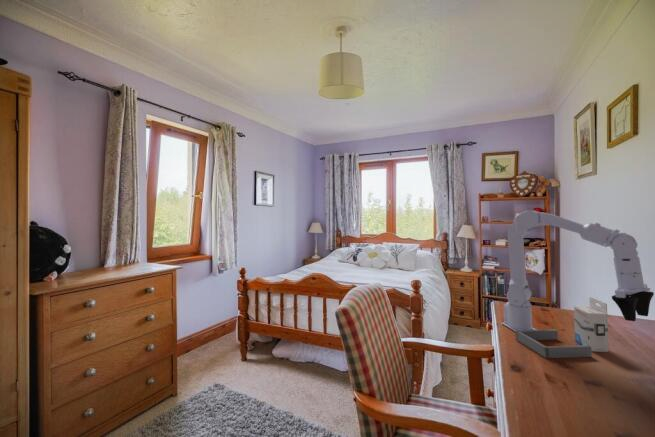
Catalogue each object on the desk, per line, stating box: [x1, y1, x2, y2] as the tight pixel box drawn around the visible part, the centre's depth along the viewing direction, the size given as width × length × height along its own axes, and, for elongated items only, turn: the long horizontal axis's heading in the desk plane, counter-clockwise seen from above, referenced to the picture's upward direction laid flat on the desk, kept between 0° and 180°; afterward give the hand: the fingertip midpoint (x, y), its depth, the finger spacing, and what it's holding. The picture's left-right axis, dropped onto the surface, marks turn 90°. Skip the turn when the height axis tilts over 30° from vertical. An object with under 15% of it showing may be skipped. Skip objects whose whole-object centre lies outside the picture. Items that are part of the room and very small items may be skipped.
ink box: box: [573, 296, 609, 353], centre depth 96 cm, size 9×5×15 cm, turn 168°
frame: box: [515, 329, 593, 359], centre depth 96 cm, size 14×14×3 cm
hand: (636, 318), depth 92 cm, fingers open, 7 cm apart
